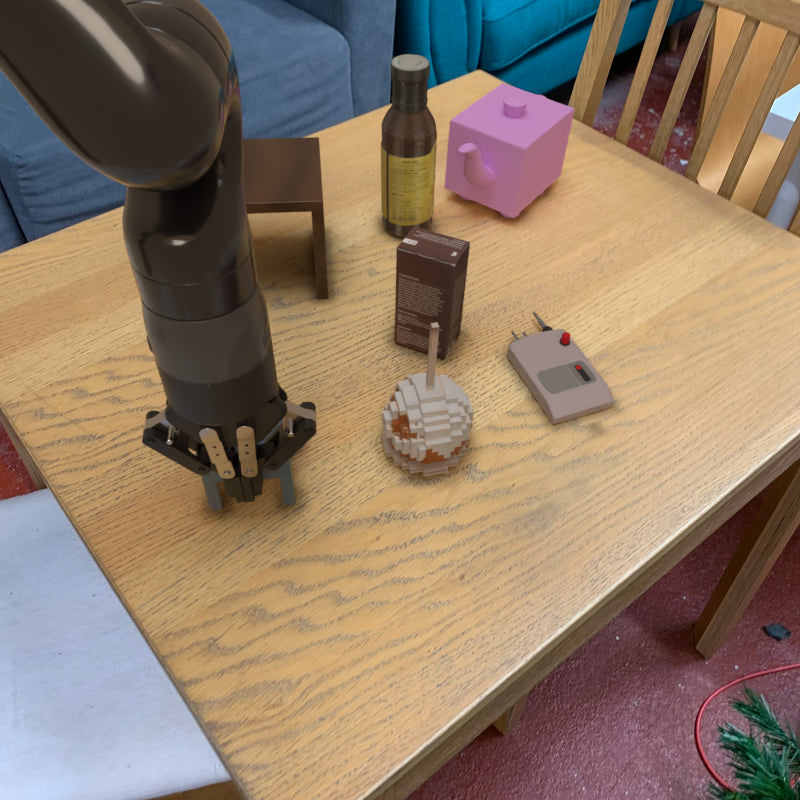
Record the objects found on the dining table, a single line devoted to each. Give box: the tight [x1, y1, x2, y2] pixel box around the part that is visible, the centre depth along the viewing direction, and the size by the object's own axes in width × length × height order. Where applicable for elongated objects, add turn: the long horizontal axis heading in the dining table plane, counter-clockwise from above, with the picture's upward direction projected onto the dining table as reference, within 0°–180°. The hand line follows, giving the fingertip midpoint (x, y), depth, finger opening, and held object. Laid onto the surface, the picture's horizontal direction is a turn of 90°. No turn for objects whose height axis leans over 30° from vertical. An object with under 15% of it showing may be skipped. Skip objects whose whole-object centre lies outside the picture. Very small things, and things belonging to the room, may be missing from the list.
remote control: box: [506, 311, 615, 435], centre depth 76 cm, size 7×16×3 cm, turn 22°
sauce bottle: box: [380, 53, 438, 239], centre depth 86 cm, size 6×6×20 cm
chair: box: [200, 419, 297, 511], centre depth 65 cm, size 7×7×8 cm
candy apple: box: [380, 322, 475, 478], centre depth 65 cm, size 8×8×15 cm
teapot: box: [443, 82, 576, 219], centre depth 93 cm, size 20×10×12 cm, turn 144°
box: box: [393, 226, 471, 360], centre depth 75 cm, size 6×4×12 cm
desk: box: [243, 136, 329, 300], centre depth 82 cm, size 16×12×12 cm
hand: (246, 493), depth 62 cm, fingers closed
